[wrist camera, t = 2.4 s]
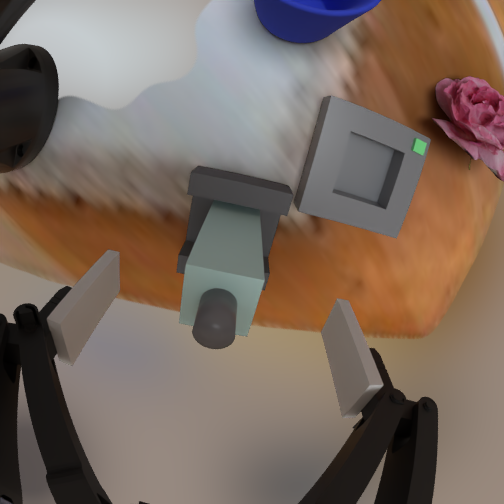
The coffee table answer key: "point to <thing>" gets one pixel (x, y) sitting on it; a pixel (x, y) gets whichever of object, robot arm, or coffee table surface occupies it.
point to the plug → (223, 275)
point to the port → (361, 168)
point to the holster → (240, 193)
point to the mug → (309, 17)
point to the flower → (474, 119)
